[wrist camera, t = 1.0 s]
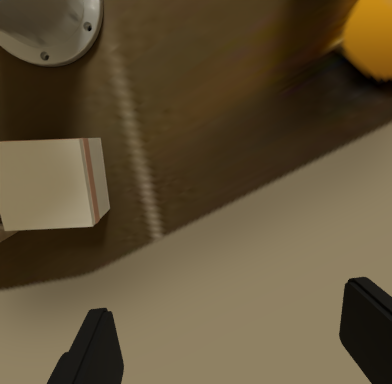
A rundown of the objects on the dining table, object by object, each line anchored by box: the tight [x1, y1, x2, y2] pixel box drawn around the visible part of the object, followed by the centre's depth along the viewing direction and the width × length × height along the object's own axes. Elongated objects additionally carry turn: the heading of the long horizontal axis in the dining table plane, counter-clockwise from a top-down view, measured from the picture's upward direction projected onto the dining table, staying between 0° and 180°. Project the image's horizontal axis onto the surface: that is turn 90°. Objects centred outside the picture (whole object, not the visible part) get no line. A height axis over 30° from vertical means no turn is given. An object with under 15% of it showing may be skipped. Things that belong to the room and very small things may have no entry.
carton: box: [0, 138, 110, 231], centre depth 26 cm, size 9×9×6 cm
